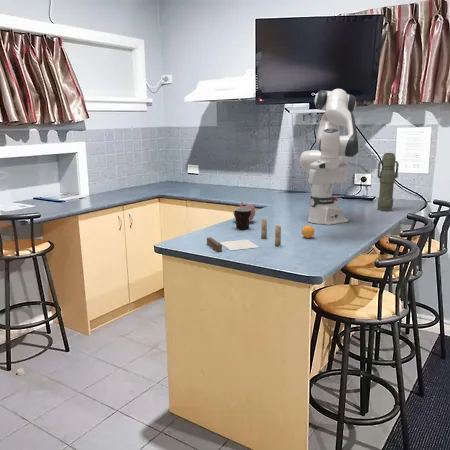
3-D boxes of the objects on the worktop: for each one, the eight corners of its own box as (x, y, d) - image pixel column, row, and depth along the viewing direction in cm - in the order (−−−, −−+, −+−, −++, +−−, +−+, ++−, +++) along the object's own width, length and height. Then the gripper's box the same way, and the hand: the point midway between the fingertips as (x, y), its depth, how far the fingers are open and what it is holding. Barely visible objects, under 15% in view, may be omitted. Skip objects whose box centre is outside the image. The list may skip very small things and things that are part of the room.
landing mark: (246, 239, 220) (246, 239, 220) (259, 247, 208) (259, 247, 208) (219, 242, 215) (219, 242, 215) (230, 250, 203) (230, 250, 203)
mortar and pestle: (242, 218, 265) (242, 199, 263) (259, 221, 258) (259, 201, 255) (228, 222, 256) (228, 202, 254) (246, 225, 249) (246, 204, 246)
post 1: (265, 237, 225) (265, 219, 223) (267, 238, 223) (268, 220, 221) (260, 237, 224) (260, 219, 222) (262, 238, 222) (263, 220, 220)
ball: (310, 235, 228) (310, 223, 227) (316, 238, 223) (317, 226, 221) (299, 236, 226) (299, 224, 225) (305, 239, 221) (306, 227, 219)
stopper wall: (210, 243, 214) (210, 237, 213) (221, 251, 201) (221, 244, 201) (206, 244, 213) (206, 237, 213) (217, 252, 201) (217, 245, 200)
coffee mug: (241, 225, 249) (241, 207, 246) (254, 228, 243) (254, 209, 241) (227, 229, 240) (227, 210, 238) (240, 232, 235) (240, 212, 232)
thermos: (397, 211, 286) (402, 153, 278) (378, 211, 285) (382, 153, 277) (391, 208, 295) (395, 152, 287) (373, 208, 294) (377, 152, 286)
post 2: (278, 244, 213) (279, 225, 210) (281, 245, 210) (282, 226, 208) (273, 245, 212) (274, 225, 210) (276, 246, 209) (277, 227, 207)
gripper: (343, 162, 227) (342, 190, 230) (307, 164, 219) (306, 193, 222) (351, 163, 221) (349, 192, 224) (314, 165, 214) (313, 195, 217)
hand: (327, 193), depth 223 cm, fingers closed
